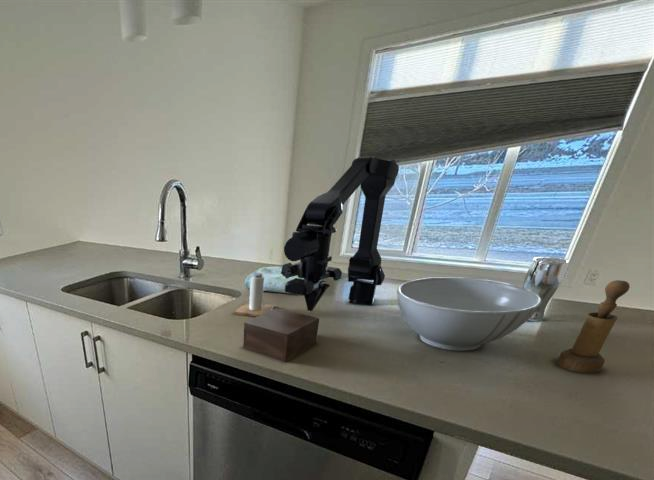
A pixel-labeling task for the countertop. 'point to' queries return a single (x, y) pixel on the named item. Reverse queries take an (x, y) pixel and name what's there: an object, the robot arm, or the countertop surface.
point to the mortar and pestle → (594, 334)
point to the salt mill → (256, 291)
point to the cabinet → (280, 333)
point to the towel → (272, 279)
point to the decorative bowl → (464, 310)
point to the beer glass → (544, 280)
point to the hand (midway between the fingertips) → (310, 310)
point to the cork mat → (246, 311)
